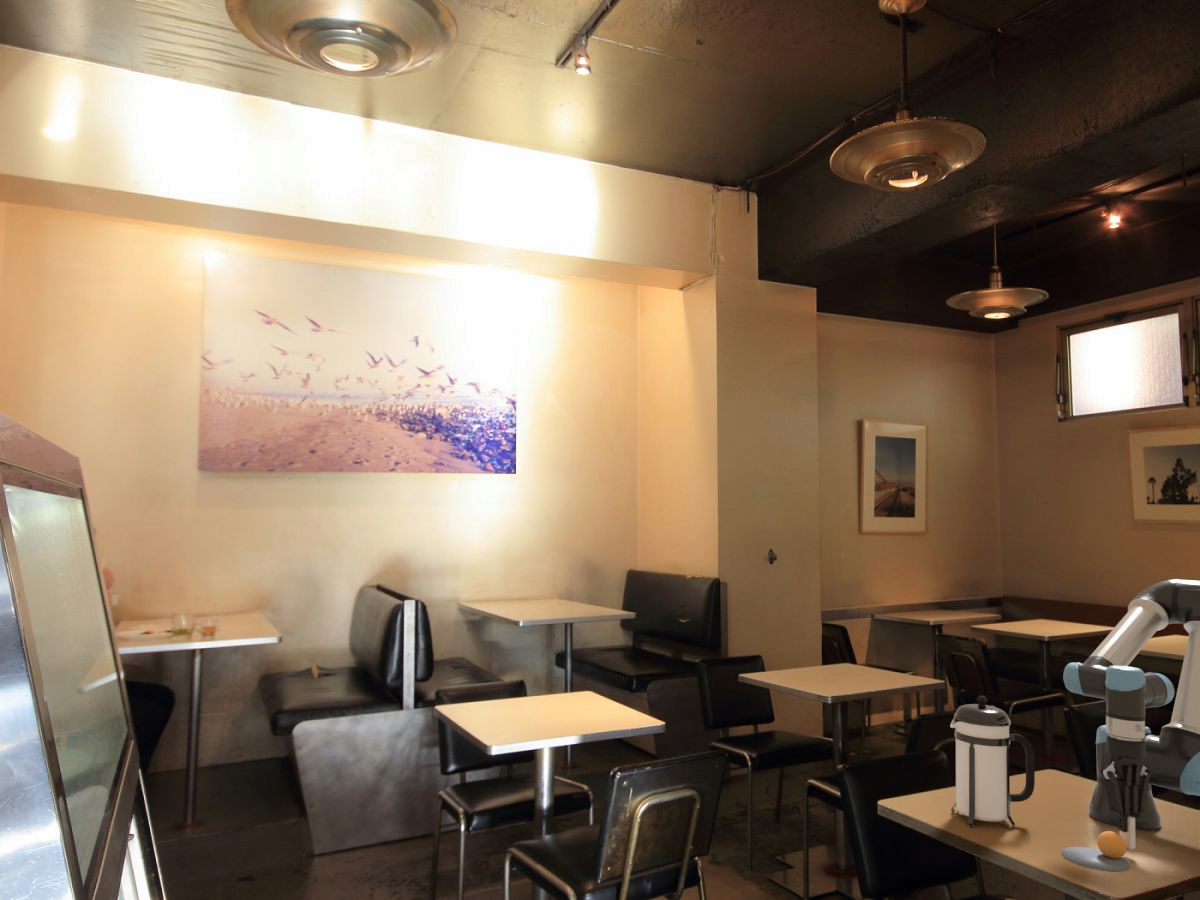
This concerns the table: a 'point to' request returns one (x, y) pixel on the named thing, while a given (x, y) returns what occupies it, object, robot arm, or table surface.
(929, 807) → the table surface
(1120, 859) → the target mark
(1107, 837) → the ball
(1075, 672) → the robot arm
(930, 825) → the table surface
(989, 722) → the coffee press
